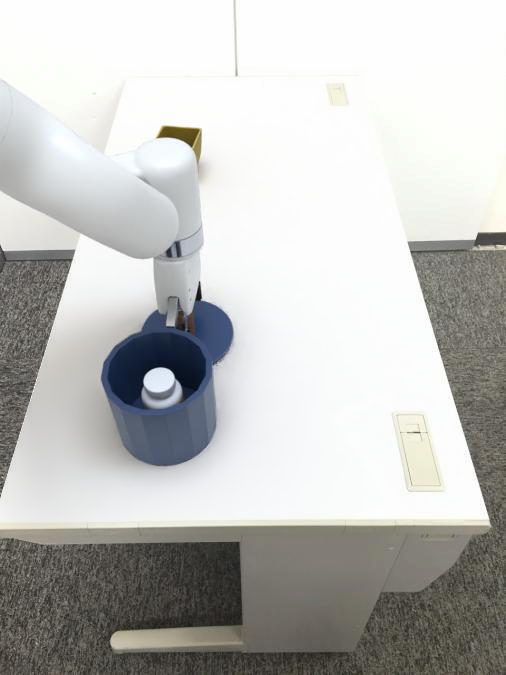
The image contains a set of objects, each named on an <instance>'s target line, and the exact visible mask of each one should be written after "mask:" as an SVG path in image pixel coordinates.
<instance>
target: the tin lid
mask: <svg viewBox="0 0 506 675" xmlns="http://www.w3.org/2000/svg"><path fill="white" fill-rule="evenodd" d="M178 310H182V308H181V307H180V305H179V309H178ZM167 313H168V310H167ZM167 313H166V314H160V313H159V311H158V308H157V309H155V310H154V311H153V312H152V313H150V314H149V315H148V317H147V318H146V319H145V321H144V322H143V324H142V327H141V329H140V332H141V331H144V330H147V329H150V328H166V321H167ZM177 323H178V324H183V315H178V317H177ZM188 327H190V332H191V334H192V335H193V336H195V337H196V338H197V339H199V340H200V341H201V342H203V343H204V344H205V346H206V348H207V350H208V352H209V354H210V356H211V357H212V362H213V364H215V363H216V362H217V361H219V360H220V359H221V358H222V357H224V356H225V354H226V353H227V352H228V351H229V349H230V347H231V346H232V343H233V339H234V326H233V323H232V320H231V318H230V317H229V315H228V314H227V312H225V311H224V310H223V309H222V308H220V307H219V306H217V305H216V304H214V303H212V302H209V301H205V300H202V299H201V300H200V301H195V302H194V306H193V310H192V313H191V314H190V315H188Z"/></svg>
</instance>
